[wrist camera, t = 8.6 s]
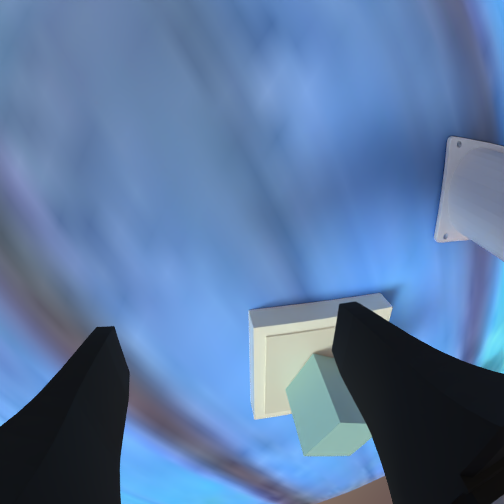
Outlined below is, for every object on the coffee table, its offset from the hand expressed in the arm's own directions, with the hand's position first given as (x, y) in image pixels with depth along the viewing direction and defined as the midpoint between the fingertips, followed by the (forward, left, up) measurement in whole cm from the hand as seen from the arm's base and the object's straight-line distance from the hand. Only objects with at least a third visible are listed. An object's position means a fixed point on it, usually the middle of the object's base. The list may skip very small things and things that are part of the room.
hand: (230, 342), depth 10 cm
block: (-7, +11, -8) cm, 15 cm away
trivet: (-7, +11, -10) cm, 17 cm away
